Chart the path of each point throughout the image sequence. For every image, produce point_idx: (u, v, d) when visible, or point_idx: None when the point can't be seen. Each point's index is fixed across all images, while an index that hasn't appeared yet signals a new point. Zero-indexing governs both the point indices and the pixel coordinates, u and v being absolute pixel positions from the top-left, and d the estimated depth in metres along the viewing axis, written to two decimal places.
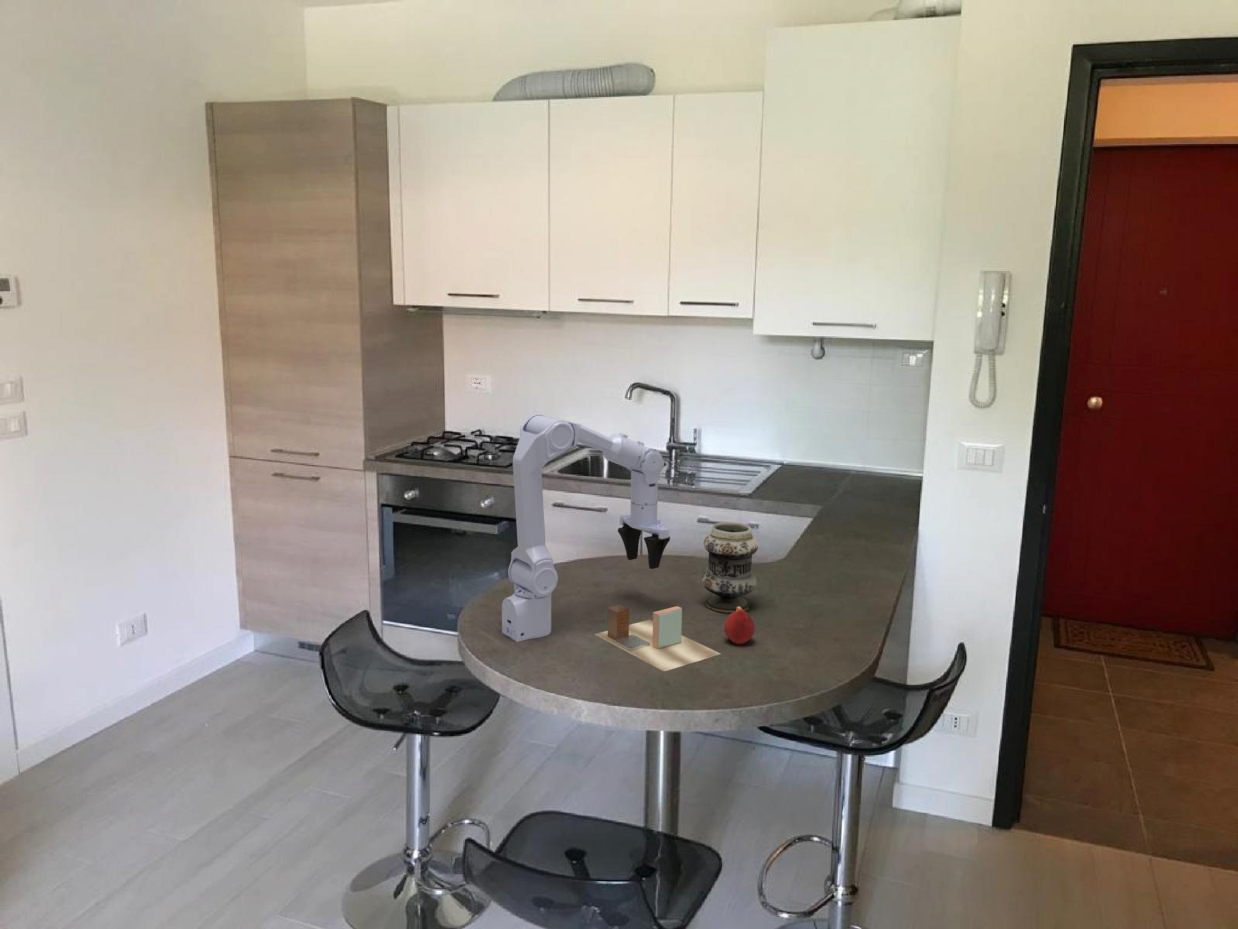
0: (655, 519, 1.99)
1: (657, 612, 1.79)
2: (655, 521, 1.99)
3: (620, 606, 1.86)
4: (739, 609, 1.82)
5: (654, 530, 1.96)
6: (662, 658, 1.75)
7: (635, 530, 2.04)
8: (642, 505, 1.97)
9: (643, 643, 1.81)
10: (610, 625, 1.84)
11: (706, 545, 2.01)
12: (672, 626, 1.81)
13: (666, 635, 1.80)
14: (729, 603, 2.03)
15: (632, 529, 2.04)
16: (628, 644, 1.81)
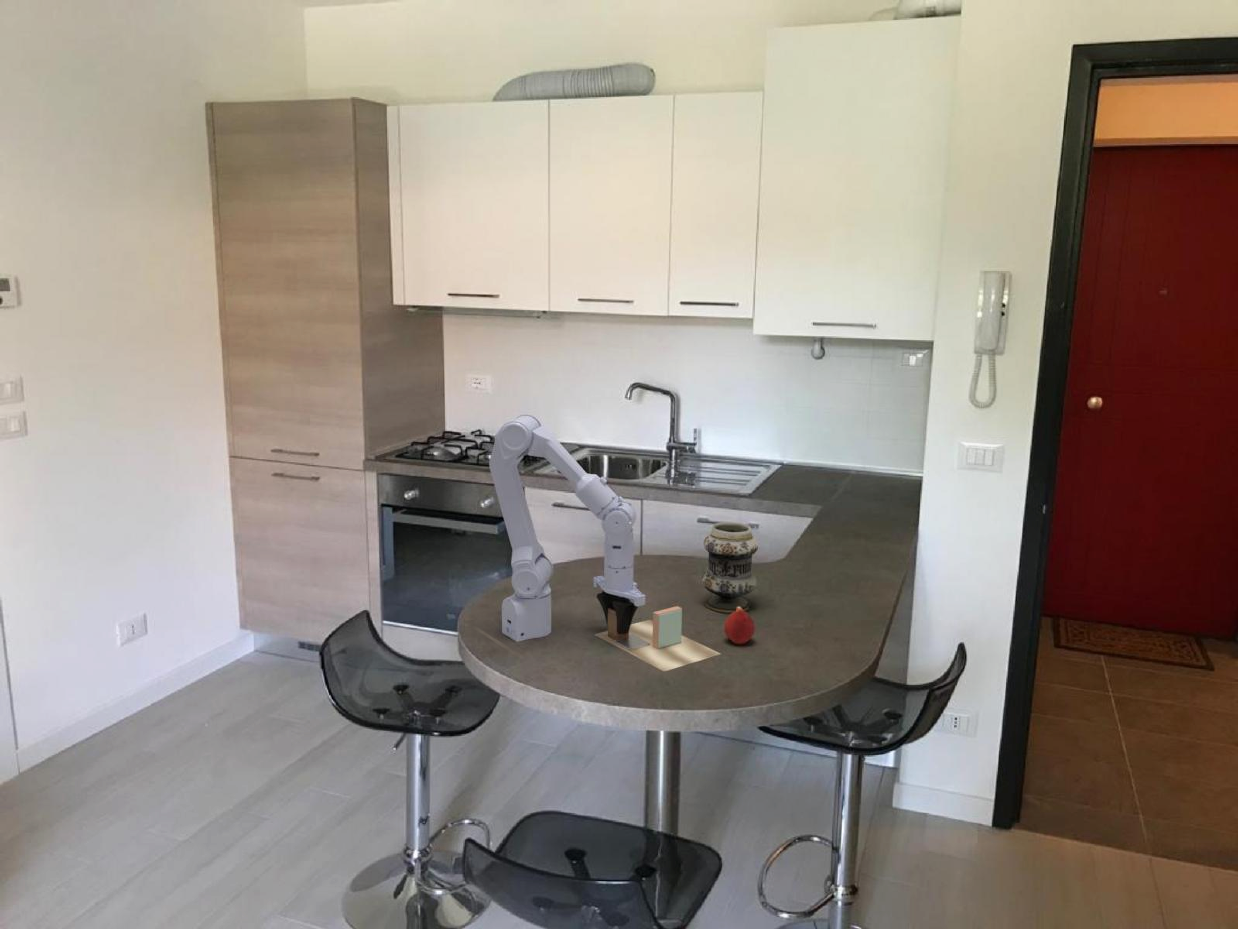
0: (631, 583, 1.82)
1: (657, 612, 1.79)
2: (631, 585, 1.82)
3: None
4: (739, 609, 1.82)
5: (629, 596, 1.78)
6: (662, 658, 1.75)
7: (616, 596, 1.86)
8: (616, 569, 1.80)
9: (643, 643, 1.81)
10: (610, 625, 1.84)
11: (706, 545, 2.01)
12: (672, 626, 1.81)
13: (666, 635, 1.80)
14: (729, 603, 2.03)
15: (612, 595, 1.85)
16: (628, 644, 1.81)
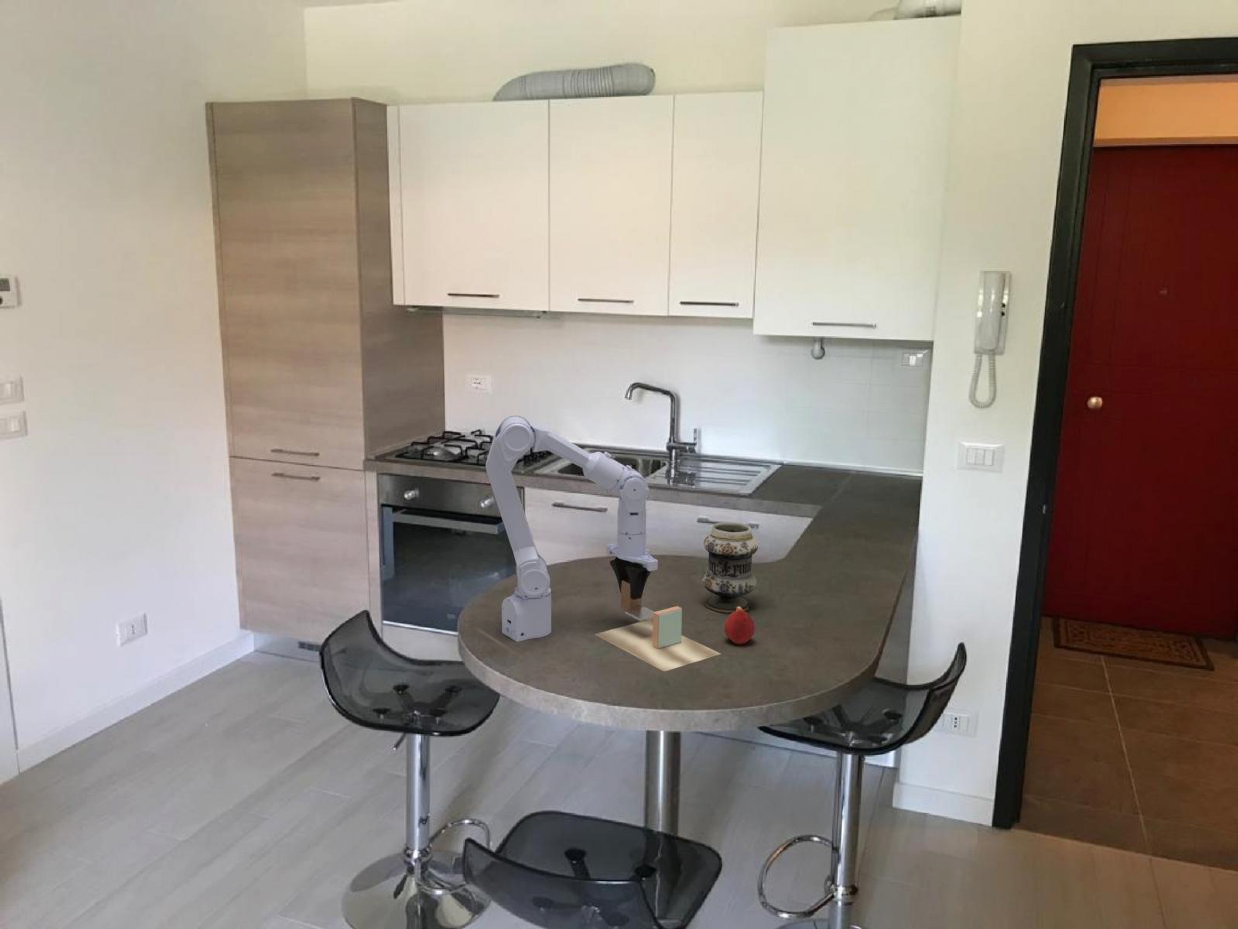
0: (643, 549, 1.87)
1: (657, 612, 1.79)
2: (643, 551, 1.87)
3: None
4: (739, 609, 1.82)
5: (642, 561, 1.83)
6: (662, 658, 1.75)
7: (628, 562, 1.90)
8: (629, 535, 1.84)
9: None
10: (624, 597, 1.89)
11: (706, 545, 2.01)
12: (672, 626, 1.81)
13: (666, 635, 1.80)
14: (729, 603, 2.03)
15: (625, 561, 1.90)
16: (641, 615, 1.86)
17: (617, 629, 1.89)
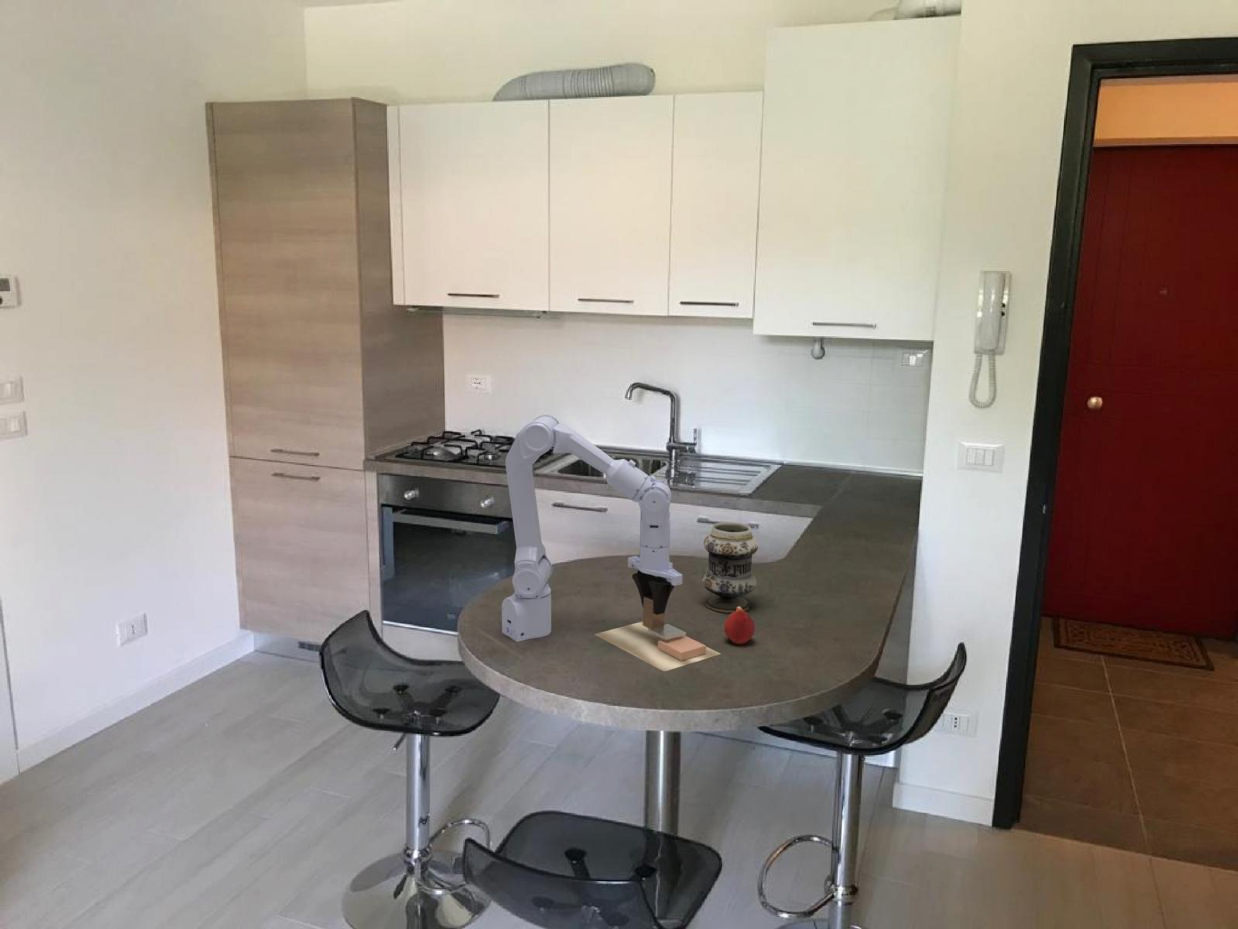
0: (667, 563, 1.81)
1: (684, 655, 1.74)
2: (667, 565, 1.81)
3: None
4: (739, 609, 1.82)
5: (666, 576, 1.78)
6: (662, 658, 1.75)
7: (651, 576, 1.85)
8: (653, 548, 1.79)
9: (680, 632, 1.80)
10: (646, 614, 1.84)
11: (706, 545, 2.01)
12: None
13: None
14: (729, 603, 2.03)
15: (648, 575, 1.84)
16: (665, 633, 1.80)
17: (617, 629, 1.89)
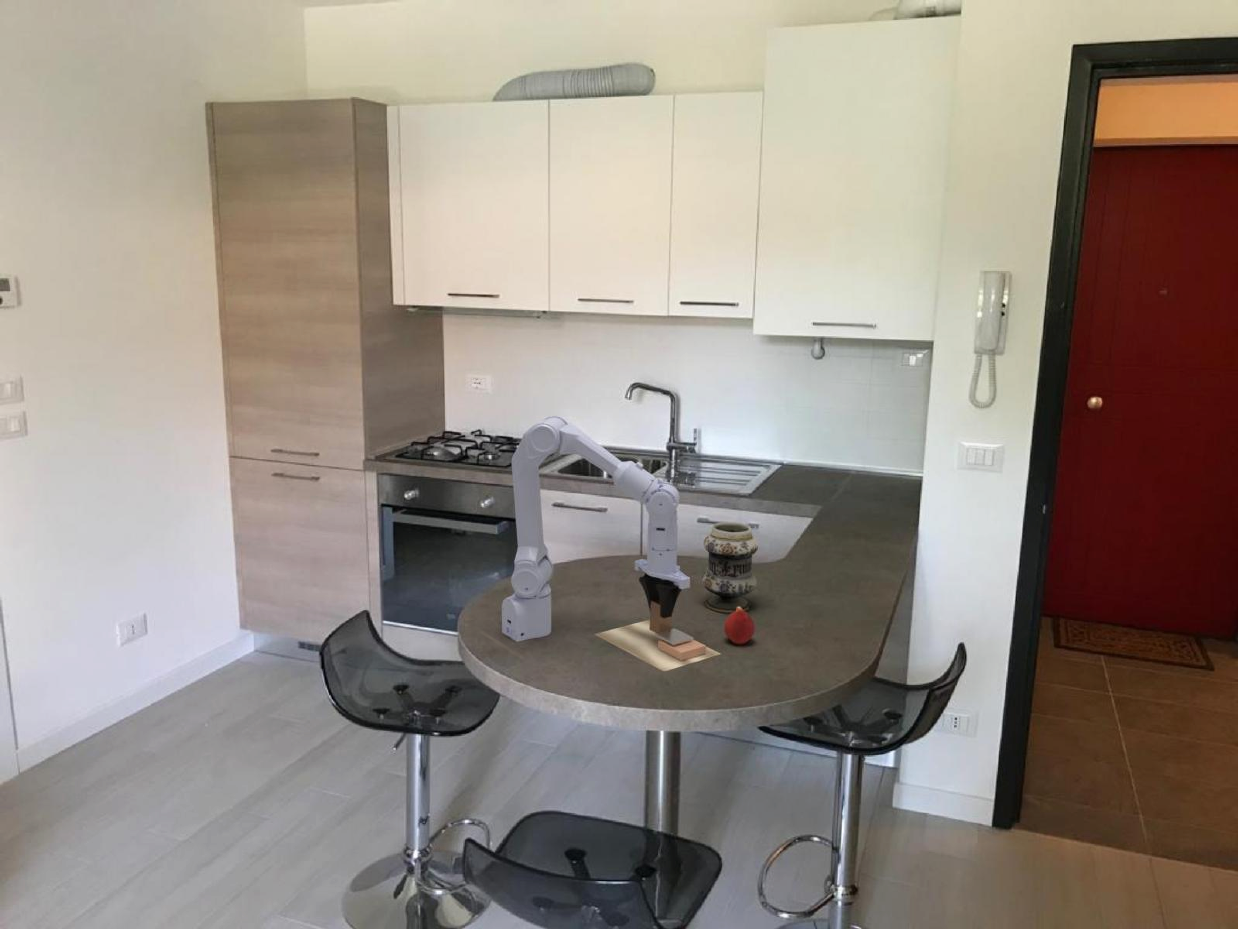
0: (675, 566, 1.79)
1: (684, 655, 1.74)
2: (675, 568, 1.79)
3: None
4: (739, 609, 1.82)
5: (674, 579, 1.76)
6: (662, 658, 1.75)
7: (658, 579, 1.83)
8: (660, 551, 1.77)
9: (687, 637, 1.79)
10: (653, 619, 1.82)
11: (706, 545, 2.01)
12: None
13: None
14: (729, 603, 2.03)
15: (655, 578, 1.82)
16: (672, 638, 1.78)
17: (617, 629, 1.89)
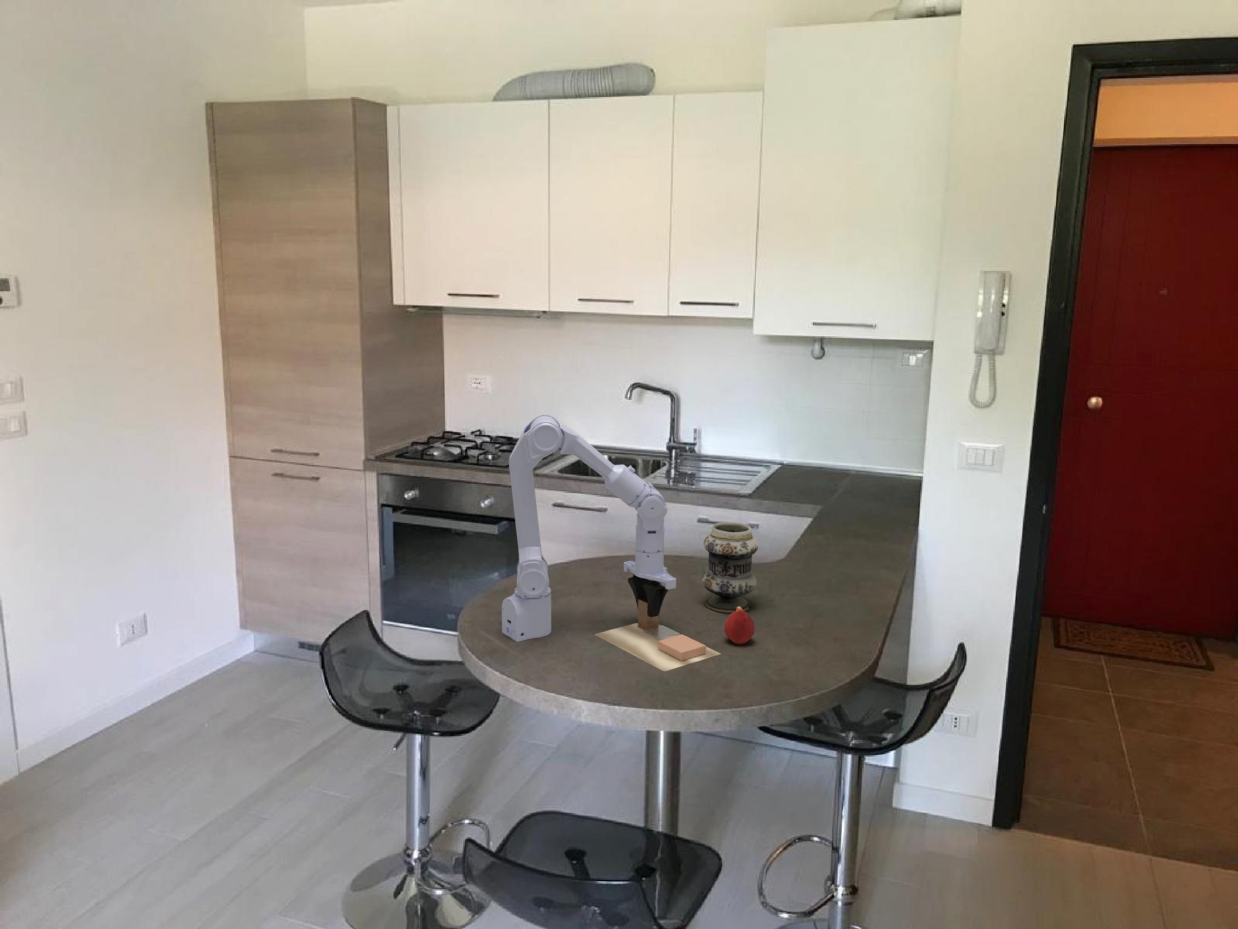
0: (661, 567, 1.87)
1: (684, 655, 1.74)
2: (661, 569, 1.87)
3: None
4: (739, 609, 1.82)
5: (660, 580, 1.83)
6: (662, 658, 1.75)
7: (646, 580, 1.90)
8: (648, 553, 1.84)
9: (673, 633, 1.86)
10: (641, 616, 1.89)
11: (706, 545, 2.01)
12: None
13: None
14: (729, 603, 2.03)
15: (643, 579, 1.90)
16: (659, 634, 1.86)
17: (617, 629, 1.89)
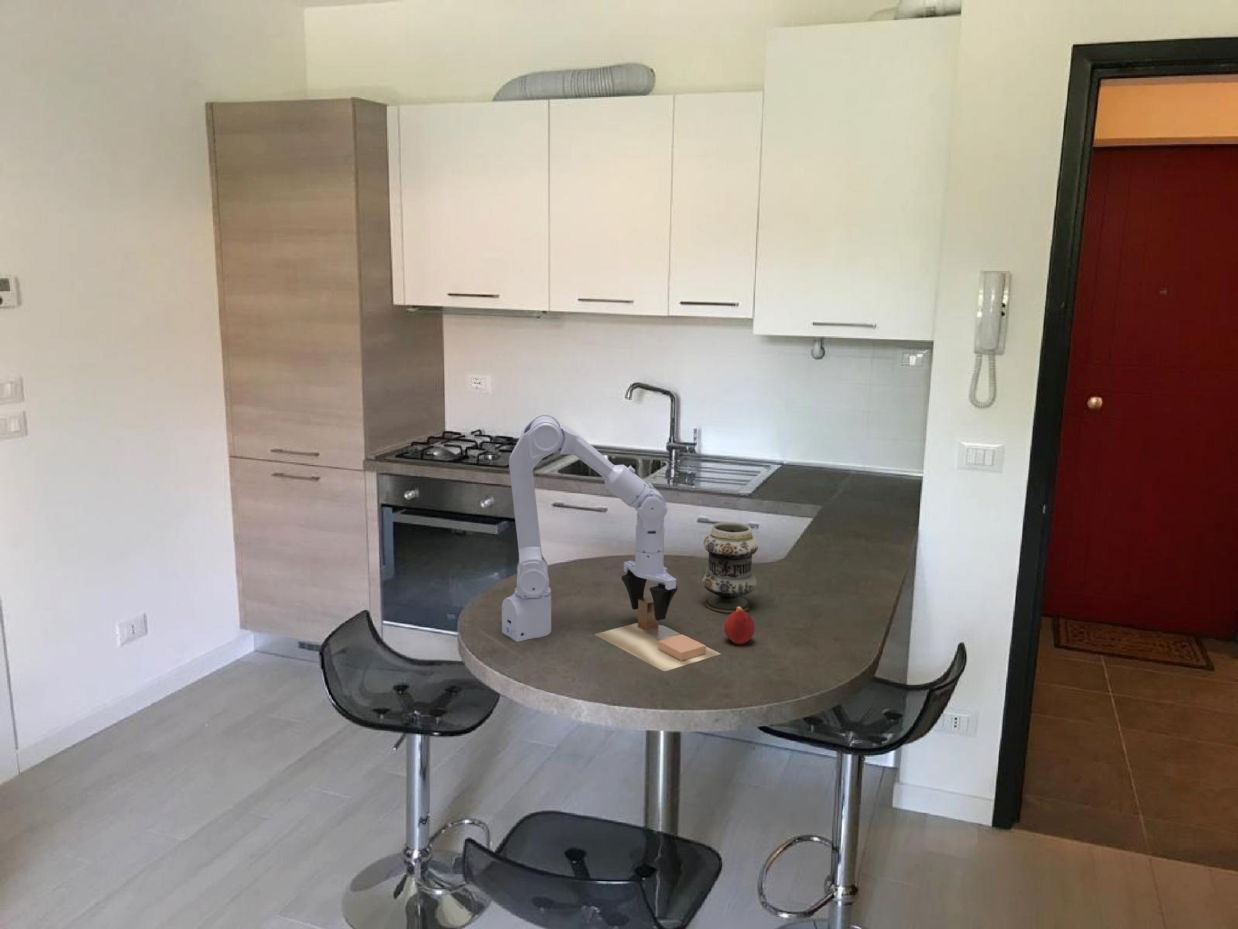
0: (661, 567, 1.87)
1: (684, 655, 1.74)
2: (661, 569, 1.87)
3: (650, 597, 1.91)
4: (739, 609, 1.82)
5: (660, 580, 1.83)
6: (662, 658, 1.75)
7: (640, 578, 1.92)
8: (648, 553, 1.85)
9: (673, 633, 1.86)
10: (641, 616, 1.89)
11: (706, 545, 2.01)
12: None
13: None
14: (729, 603, 2.03)
15: (637, 577, 1.91)
16: (659, 634, 1.86)
17: (617, 629, 1.89)
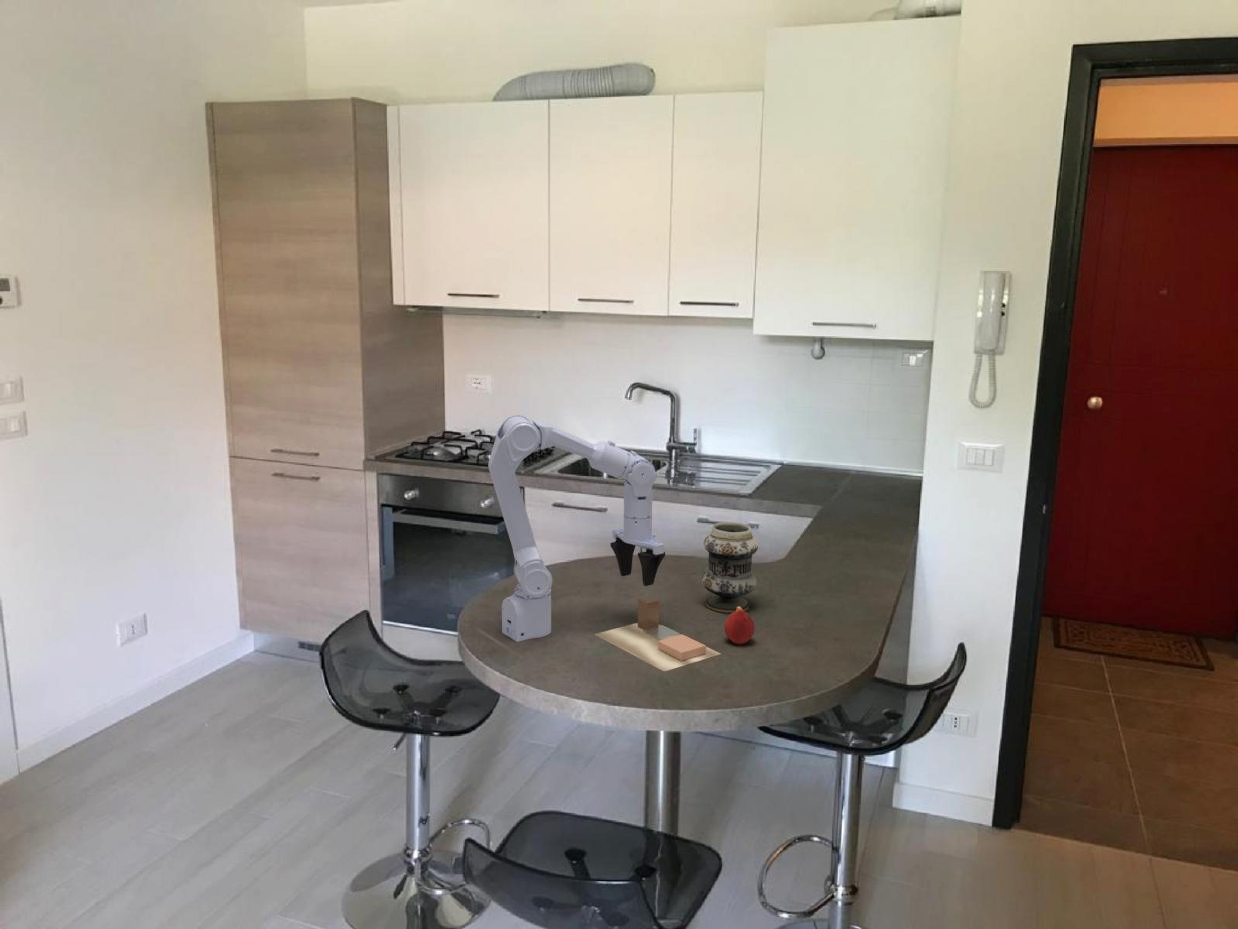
0: (649, 533, 1.88)
1: (684, 655, 1.74)
2: (649, 535, 1.89)
3: (650, 597, 1.91)
4: (739, 609, 1.82)
5: (648, 545, 1.85)
6: (662, 658, 1.75)
7: (629, 545, 1.94)
8: (636, 519, 1.86)
9: (673, 633, 1.86)
10: (641, 616, 1.89)
11: (706, 545, 2.01)
12: None
13: None
14: (729, 603, 2.03)
15: (625, 544, 1.93)
16: (659, 634, 1.86)
17: (617, 629, 1.89)
